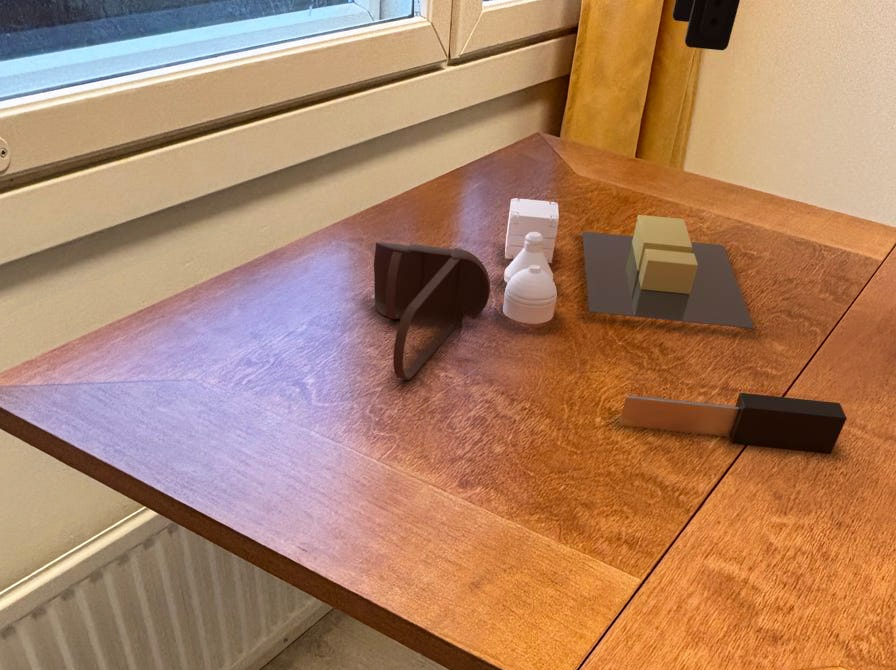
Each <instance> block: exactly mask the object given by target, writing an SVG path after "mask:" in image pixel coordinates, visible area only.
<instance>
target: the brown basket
mask: <svg viewBox="0 0 896 670" xmlns="http://www.w3.org/2000/svg"><path fill="white" fill-rule="evenodd" d="M373 276H374V277H373V278H374V280H373V281H374V287H373V288H374V289H373V291H374V292H373V293H374V295H373V296H374V305H375V308H376V310H377V312H379V314H380V315H382V316H384V317H386V318H388V319H393V320H400V321H399V324H398V327H397V331H396V335H395V340H394V345H393V355H392V360H393V362H392V365H393V371H394V374H395V376H396V377H397V378H399V379H403V380H411V379H412V378H413V377H414V376H415V375H416V374H417V373H418V372H419V370H420V369H422V367H423V366H424V365H425V364H426V363H427V362H428V360H430V358H431V357H432V356H433V355H434V354H435V352H436V351H437V350H438V349H439V348H440V347H441V346H442V345H443V344H444V342H445V341H446V340H447V339H448V338H449V336H450V335H451V334H452V333H453V332H454V330H455V329H456V328H460V327H462V326H463V322H464V313H465V310H466V311H467V312H469V314H470V316H471V318H472V320H475V319H476V318H477V317H478V316H479V315H480V314H481V313H482V312H483V311H484V309H485V308H486V306H487V305H488V302H489V298H490V294H491V280H490V279H491V278H490V275H489V272H488V271H487V268H486V267H485V265H484V263H483V262H482V261H481V260H480V258H478V257H477V256H476V255H475V254H473V253H472V252H470V251H468V250H466V249H465V250H464V249H462V248H457V247H454V248H447V247H440V246H432V245H423V244H414V243H411V244H409V245H408V244H400V243H393V242H386V241H385V242H384V241H377V242H375V250H374V258H373ZM412 323H413V324H418V325H427V326H432V327H433V326H434V327H440V328H441V327H442V328H443V329H442V330H441V331H440V333H439V334H438V335H437V336H436V337H435V338H434V340H432V341H431V343H430V344H429V345H428V346H427V347H426V348H425V350H423V352H421V354H420V355H419V356H418V357H417V358H416V360H414V361H413V363H412V364H411V365H410V366H409V367H408V368H407V369H406V371H405V369H404V352H405V345H406V341H407V340H406V339H407V335H408V332H409V329H410V325H411V324H412Z"/></svg>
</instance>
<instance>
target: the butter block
mask: <svg viewBox="0 0 896 670" xmlns="http://www.w3.org/2000/svg"><path fill="white" fill-rule="evenodd" d="M636 218H637V219H636V223H635V227H634V232H633V235H632V236H633V240H632V244H633V250H634V255H635V260H636V266H637V271H640V269H641V265H642V261H643V257H644V252H645V249H654V250H664V251H674V252H685V253H691V251H692V244H691V242H692V241H691V237H690V235H689V232H688V229H687V224H686V221H685V219H684V218H677V217H666V216H656V215H645V214H638V215H637V217H636Z"/></svg>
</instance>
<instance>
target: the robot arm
mask: <svg viewBox="0 0 896 670" xmlns="http://www.w3.org/2000/svg"><path fill="white" fill-rule="evenodd" d="M740 2H741V0H675V1H674V5H673V10H672V19H673V20H674V21H676V22H684V23H688V24H687V29H686V34H685V37H684V44H685V46H686V47H688V48H693V49H704V50H713V51H725V50H726V49H727V48H728V46H729V45H730V44H729V43H730V40H731V35H732V32H733V30H734V29H733V28H734V25H735V20H736V17H737V14H738V10H739V5H740Z"/></svg>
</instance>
